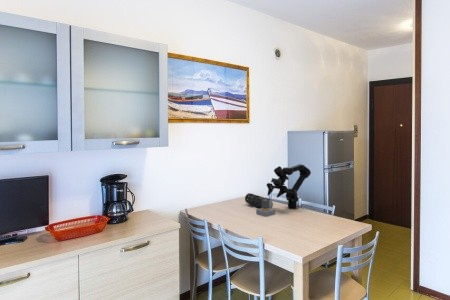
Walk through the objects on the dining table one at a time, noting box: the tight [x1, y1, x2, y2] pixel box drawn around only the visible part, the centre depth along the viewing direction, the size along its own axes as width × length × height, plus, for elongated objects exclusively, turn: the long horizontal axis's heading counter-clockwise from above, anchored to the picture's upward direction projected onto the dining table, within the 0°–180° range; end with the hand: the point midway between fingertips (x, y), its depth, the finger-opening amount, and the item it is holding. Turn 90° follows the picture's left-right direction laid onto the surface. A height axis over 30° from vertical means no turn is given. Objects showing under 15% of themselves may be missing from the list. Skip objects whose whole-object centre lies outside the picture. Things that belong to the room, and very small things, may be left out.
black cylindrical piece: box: [244, 192, 274, 209], centre depth 259 cm, size 10×28×10 cm, turn 31°
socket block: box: [255, 207, 276, 218], centre depth 236 cm, size 10×10×4 cm
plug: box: [262, 199, 269, 211], centre depth 236 cm, size 4×4×11 cm
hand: (272, 196), depth 241 cm, fingers open, 9 cm apart
